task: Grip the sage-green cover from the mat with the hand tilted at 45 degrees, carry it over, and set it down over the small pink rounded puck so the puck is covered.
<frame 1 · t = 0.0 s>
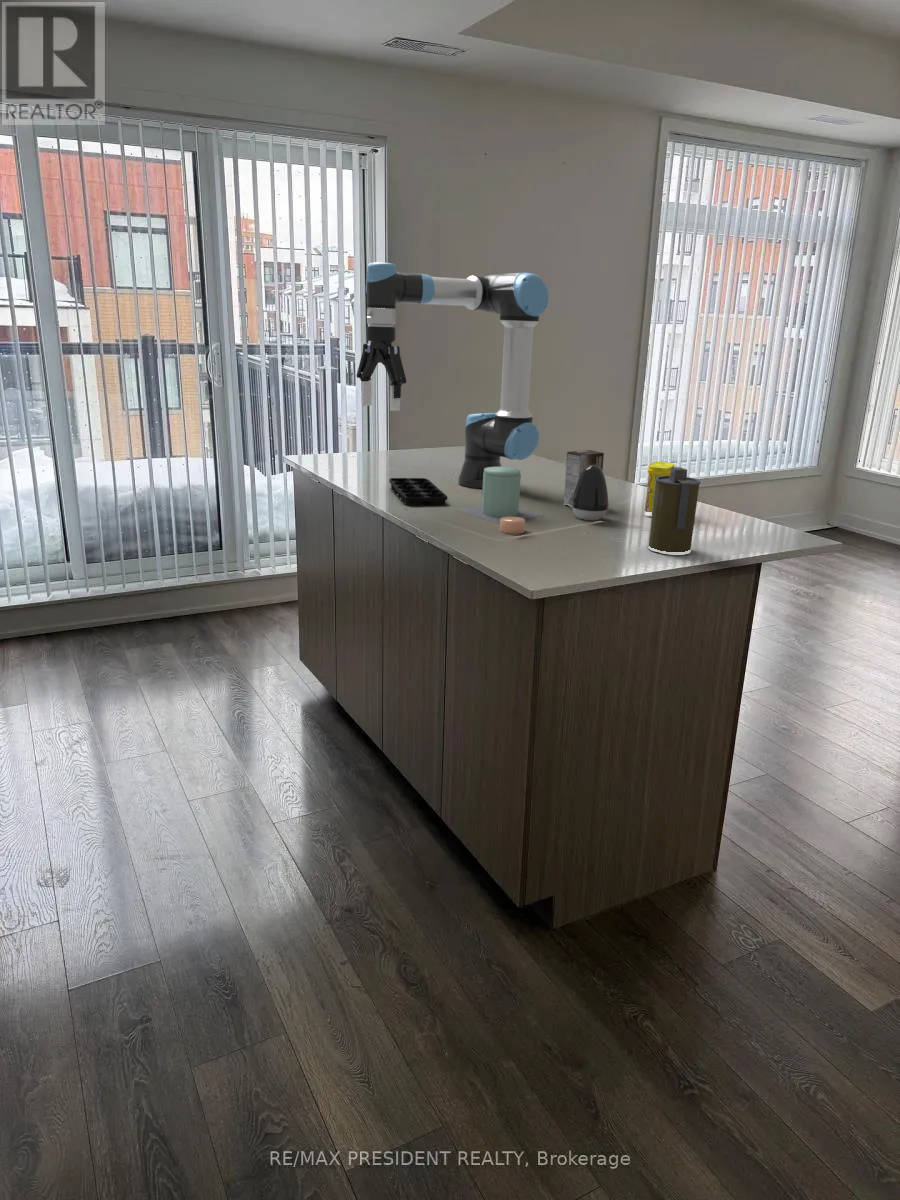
hand: (380, 408, 227), 28 cm above the counter, tool pointing down, fingers open, 13 cm apart
canister 2: (655, 514, 241), on the counter
pink rounded puck: (512, 532, 215), on the counter
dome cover: (499, 512, 234), point 1 cm above the counter, touching mat
mat: (499, 514, 234), on the counter
coffee box: (581, 506, 249), on the counter
black egg-shaped device: (588, 519, 233), on the counter
egg carton: (416, 499, 252), on the counter
canister: (669, 550, 204), on the counter
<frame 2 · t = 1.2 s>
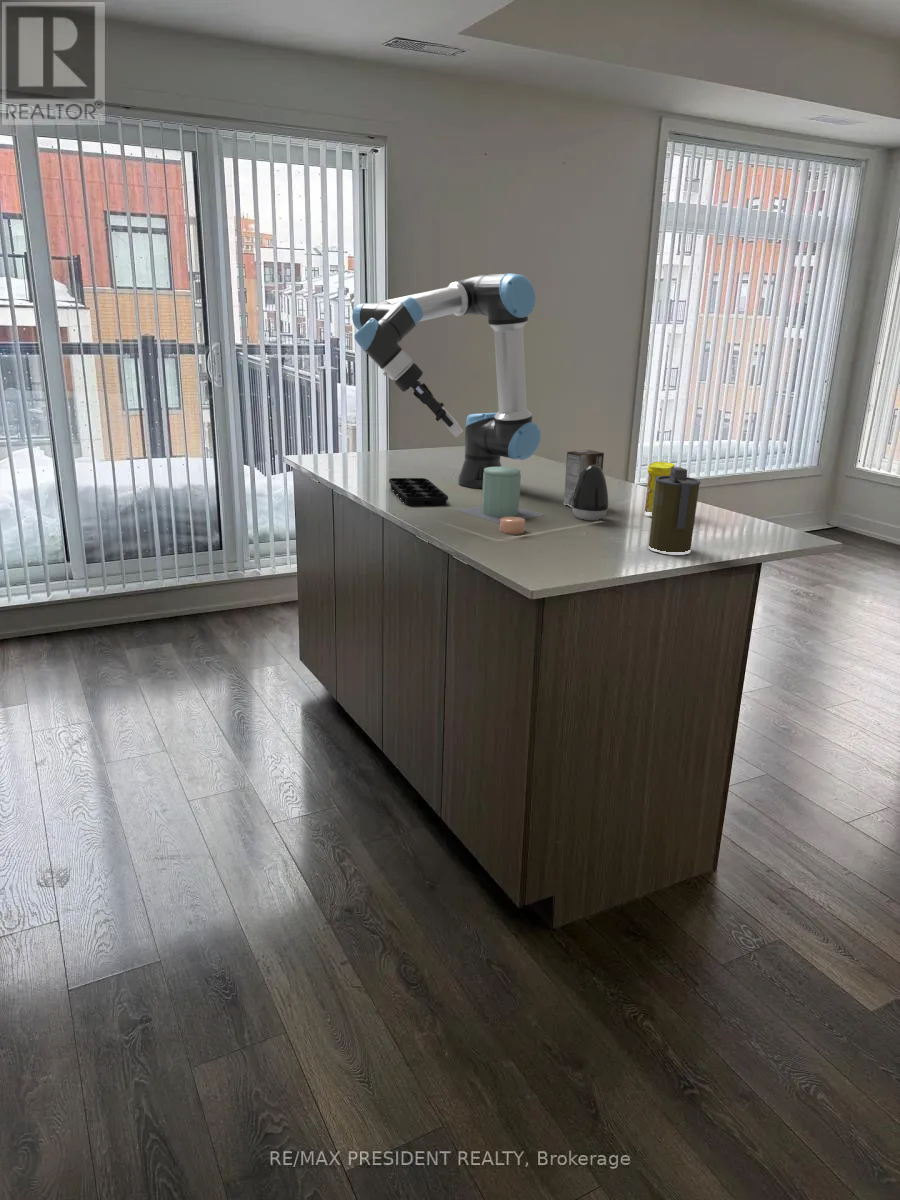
hand: (457, 431, 226), 23 cm above the counter, tool tilted 45°, fingers open, 13 cm apart
nothing on the counter moved.
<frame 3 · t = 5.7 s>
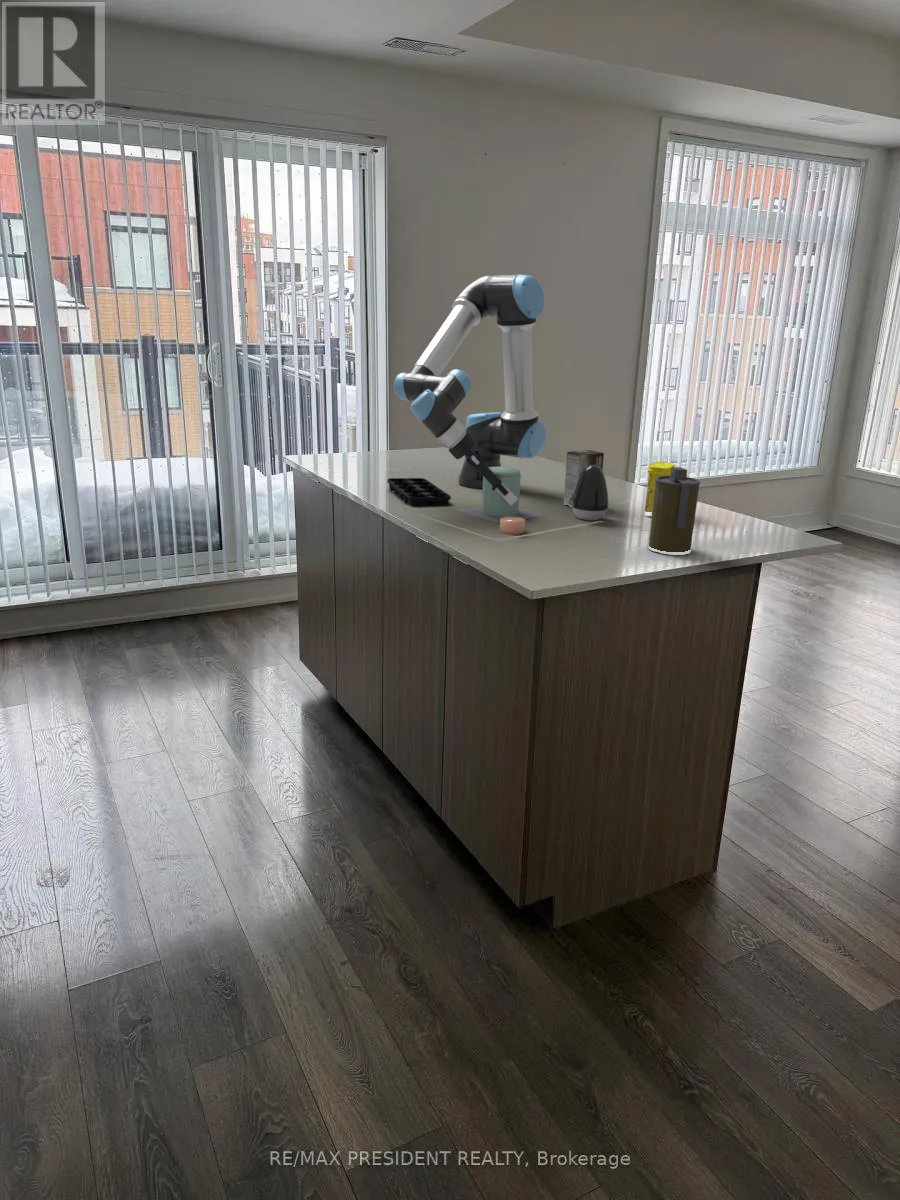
hand: (511, 497, 233), 5 cm above the counter, tool tilted 45°, fingers closed on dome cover, 10 cm apart
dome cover: (499, 512, 234), point 1 cm above the counter, touching gripper, mat
everything else where it was.
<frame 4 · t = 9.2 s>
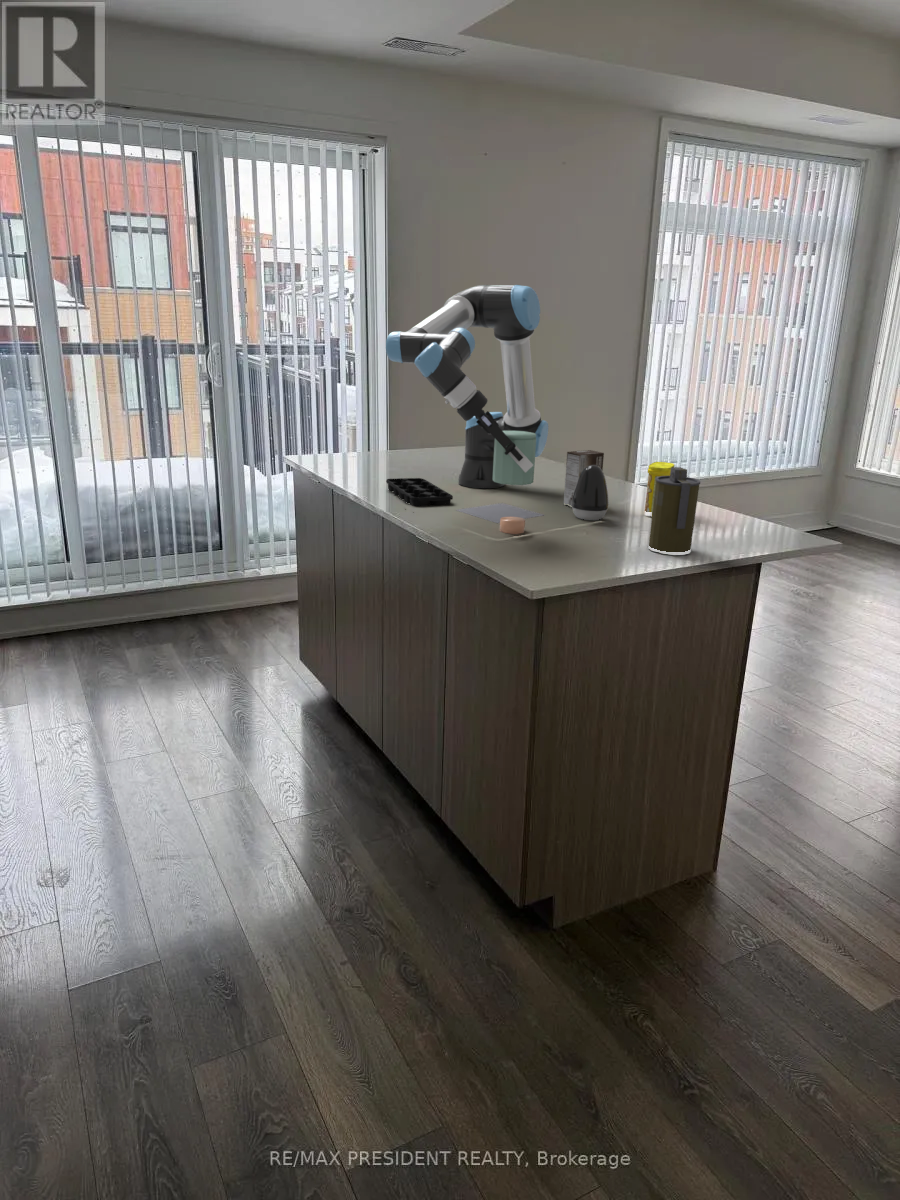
hand: (525, 464, 210), 17 cm above the counter, tool tilted 45°, fingers closed on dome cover, 10 cm apart
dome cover: (512, 481, 211), point 13 cm above the counter, touching gripper
everything else where it was.
when the fingers open (6 cm above the counter, at t = 12.6 s): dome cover drops 1 cm, on the counter.
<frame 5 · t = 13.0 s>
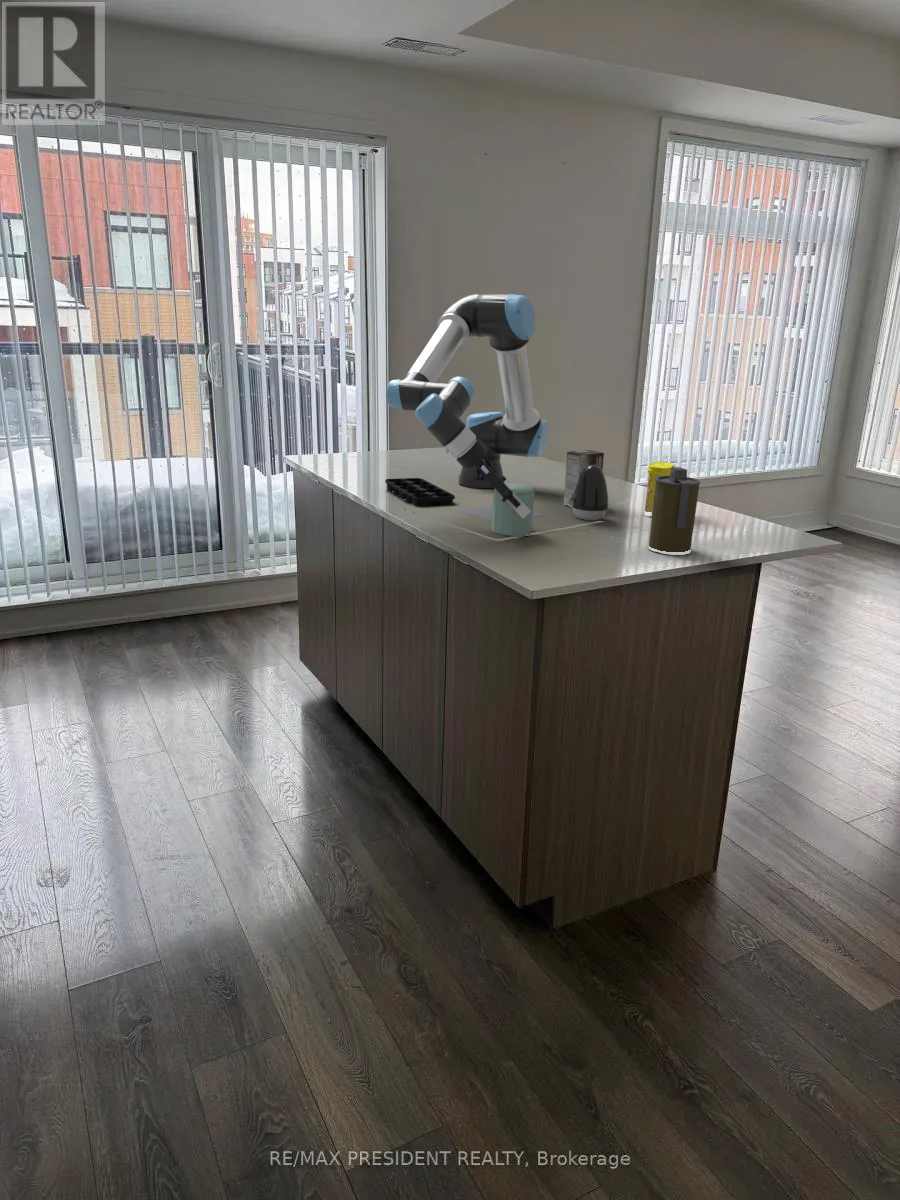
hand: (522, 508, 213), 6 cm above the counter, tool tilted 45°, fingers open, 13 cm apart
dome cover: (511, 532, 215), on the counter
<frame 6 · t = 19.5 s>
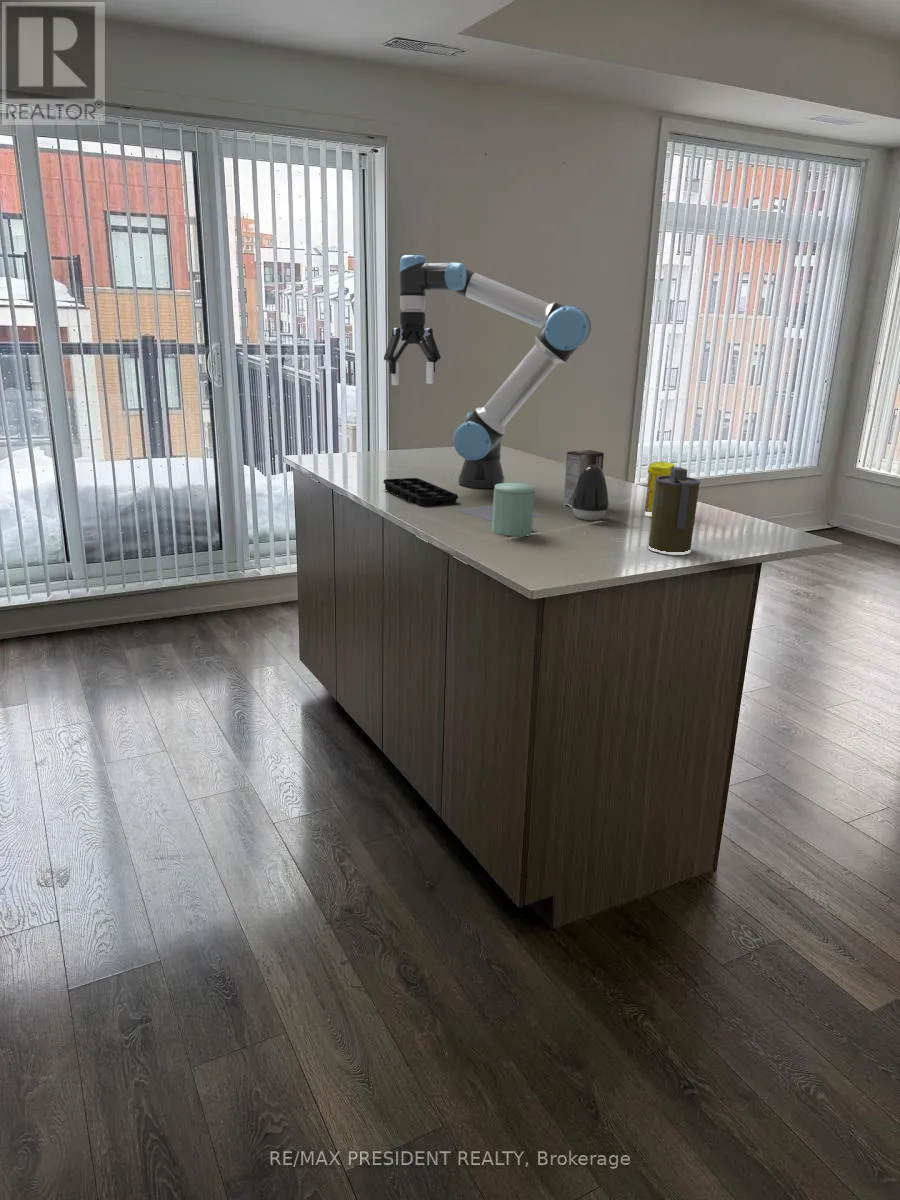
hand: (412, 384, 256), 32 cm above the counter, tool pointing down, fingers open, 13 cm apart
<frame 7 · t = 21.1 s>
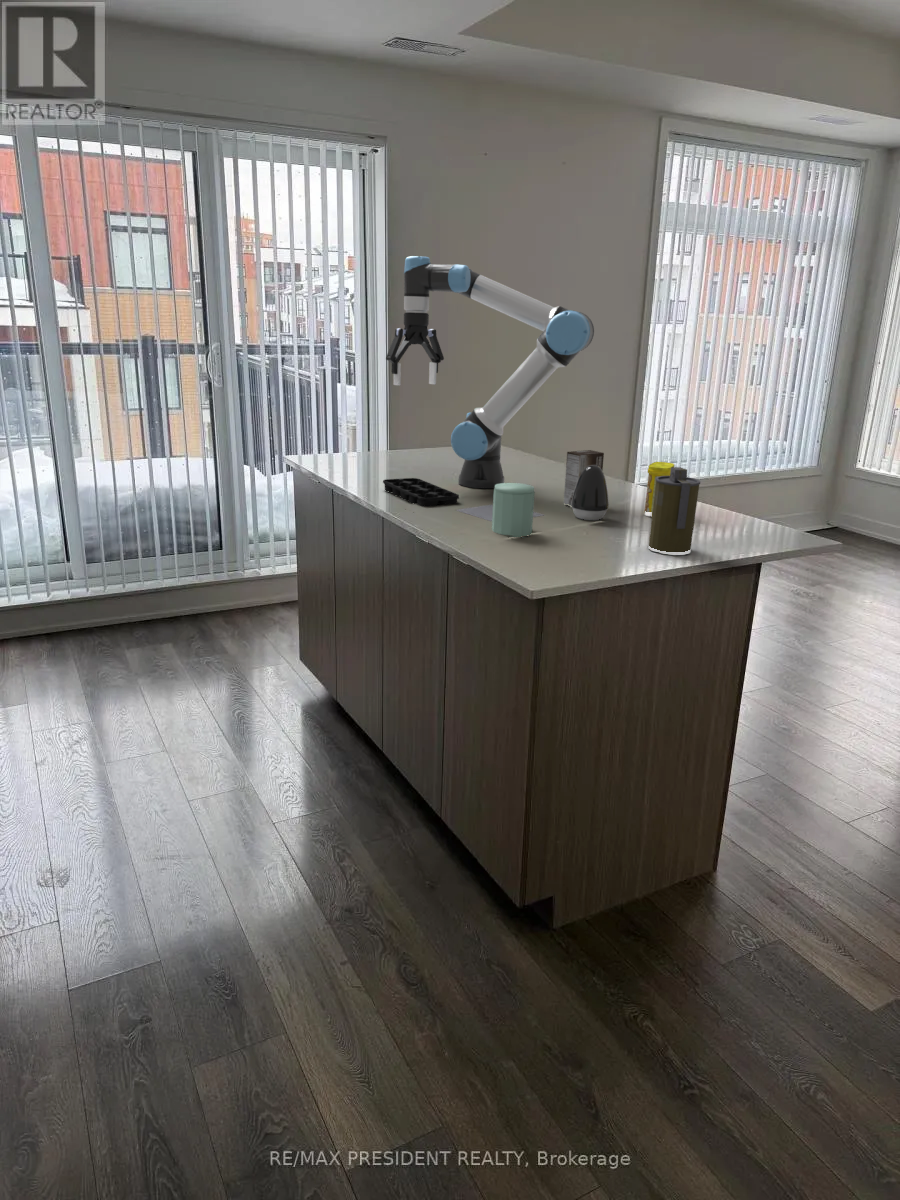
hand: (414, 384, 257), 32 cm above the counter, tool pointing down, fingers open, 13 cm apart
at the end: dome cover 0.1 cm from the pink rounded puck (horizontally); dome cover on the counter; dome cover tilted 0° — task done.
